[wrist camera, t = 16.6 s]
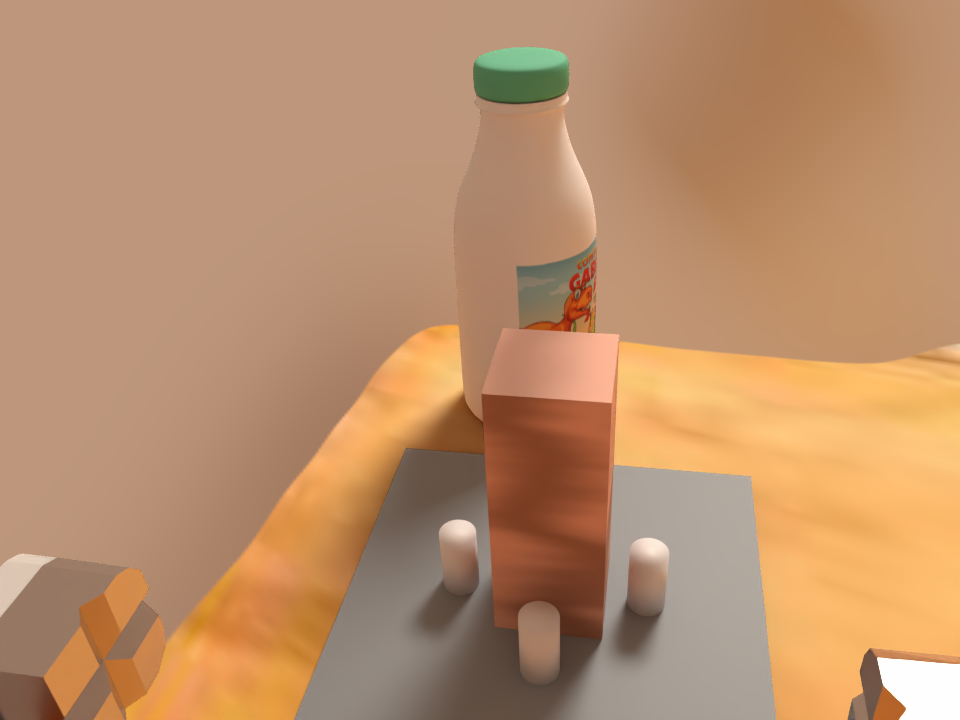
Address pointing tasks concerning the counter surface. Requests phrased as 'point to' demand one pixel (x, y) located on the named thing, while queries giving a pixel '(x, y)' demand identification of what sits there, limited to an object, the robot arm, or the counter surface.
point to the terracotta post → (551, 473)
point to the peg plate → (599, 675)
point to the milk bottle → (521, 214)
